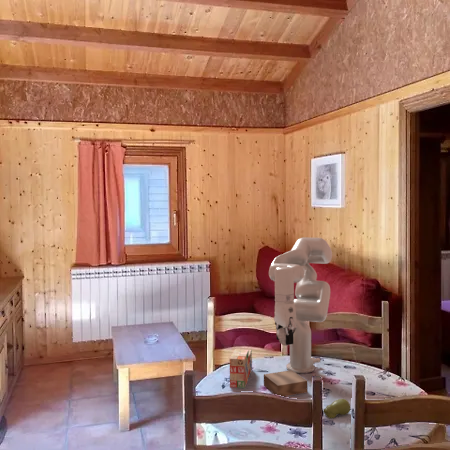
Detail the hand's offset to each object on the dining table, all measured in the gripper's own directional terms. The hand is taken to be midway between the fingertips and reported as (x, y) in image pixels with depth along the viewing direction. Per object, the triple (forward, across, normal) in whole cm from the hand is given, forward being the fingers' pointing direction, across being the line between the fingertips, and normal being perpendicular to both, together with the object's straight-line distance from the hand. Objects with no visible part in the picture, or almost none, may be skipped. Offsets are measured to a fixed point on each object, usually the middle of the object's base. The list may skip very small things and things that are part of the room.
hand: (284, 341), depth 193 cm
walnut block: (+20, 0, 0) cm, 20 cm away
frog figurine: (+2, 0, 0) cm, 2 cm away
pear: (+19, -28, -4) cm, 35 cm away
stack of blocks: (+20, +18, +11) cm, 29 cm away
